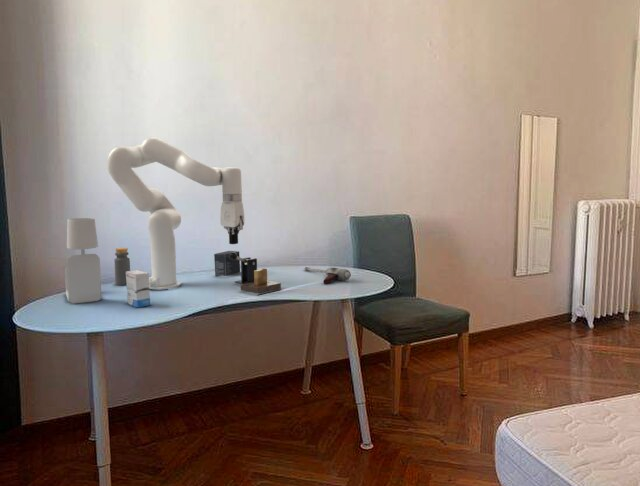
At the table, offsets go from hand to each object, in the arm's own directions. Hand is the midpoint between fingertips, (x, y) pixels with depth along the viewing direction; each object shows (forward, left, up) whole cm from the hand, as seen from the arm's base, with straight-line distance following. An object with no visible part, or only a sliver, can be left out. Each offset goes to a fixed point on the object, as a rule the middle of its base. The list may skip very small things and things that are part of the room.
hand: (233, 243), depth 213 cm
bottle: (-26, +40, -18) cm, 51 cm away
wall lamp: (-48, +27, -18) cm, 58 cm away
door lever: (+3, 0, -8) cm, 9 cm away
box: (+14, +22, -18) cm, 32 cm away
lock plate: (+2, -14, -18) cm, 23 cm away
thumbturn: (+2, -14, -15) cm, 20 cm away
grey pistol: (+37, -13, -18) cm, 43 cm away
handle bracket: (+8, 0, -18) cm, 20 cm away
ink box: (-40, +3, -18) cm, 44 cm away
